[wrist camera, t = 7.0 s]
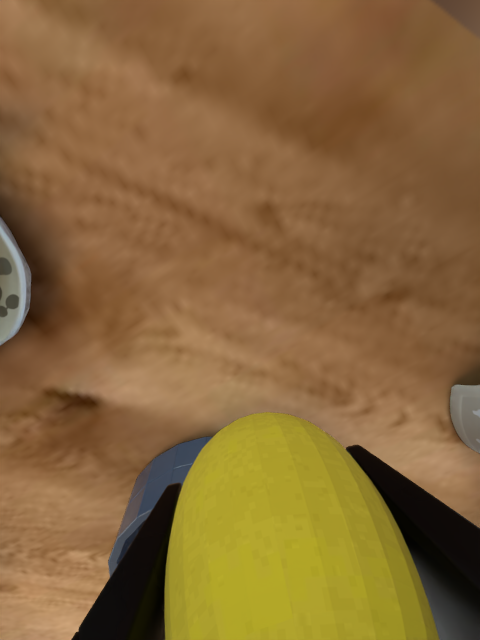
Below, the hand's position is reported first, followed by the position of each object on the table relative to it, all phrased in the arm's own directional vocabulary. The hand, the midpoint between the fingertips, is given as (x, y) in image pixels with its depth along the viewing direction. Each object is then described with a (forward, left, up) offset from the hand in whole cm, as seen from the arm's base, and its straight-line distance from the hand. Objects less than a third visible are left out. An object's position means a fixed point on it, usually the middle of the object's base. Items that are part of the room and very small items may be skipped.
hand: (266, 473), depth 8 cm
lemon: (0, 0, -2) cm, 2 cm away
